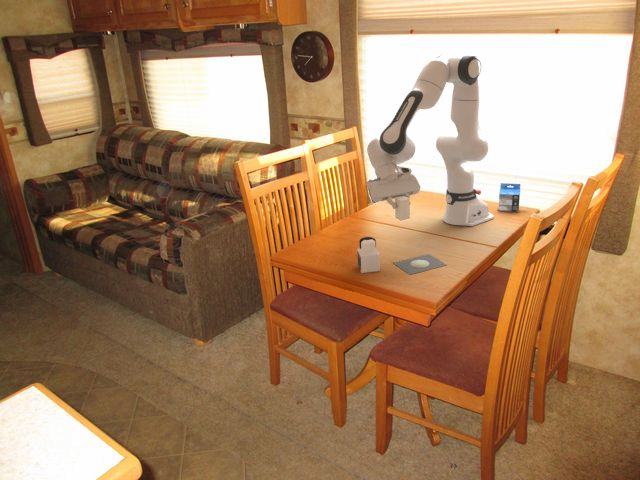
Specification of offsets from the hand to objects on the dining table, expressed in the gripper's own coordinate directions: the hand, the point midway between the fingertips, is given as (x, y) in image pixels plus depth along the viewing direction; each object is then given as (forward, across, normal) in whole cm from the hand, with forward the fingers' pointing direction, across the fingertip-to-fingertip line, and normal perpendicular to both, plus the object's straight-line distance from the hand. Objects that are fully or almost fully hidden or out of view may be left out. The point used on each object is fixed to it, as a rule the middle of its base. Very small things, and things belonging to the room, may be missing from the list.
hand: (402, 206), depth 201 cm
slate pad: (+22, 0, +5) cm, 23 cm away
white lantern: (+18, -18, +10) cm, 27 cm away
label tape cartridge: (+2, +66, +26) cm, 71 cm away
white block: (+3, 0, +3) cm, 5 cm away
